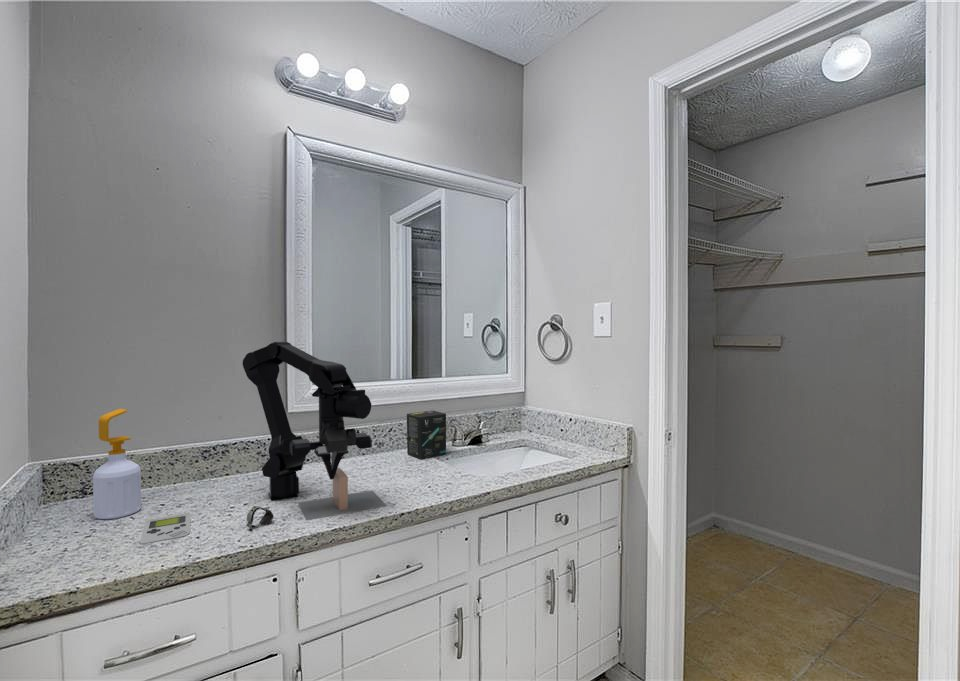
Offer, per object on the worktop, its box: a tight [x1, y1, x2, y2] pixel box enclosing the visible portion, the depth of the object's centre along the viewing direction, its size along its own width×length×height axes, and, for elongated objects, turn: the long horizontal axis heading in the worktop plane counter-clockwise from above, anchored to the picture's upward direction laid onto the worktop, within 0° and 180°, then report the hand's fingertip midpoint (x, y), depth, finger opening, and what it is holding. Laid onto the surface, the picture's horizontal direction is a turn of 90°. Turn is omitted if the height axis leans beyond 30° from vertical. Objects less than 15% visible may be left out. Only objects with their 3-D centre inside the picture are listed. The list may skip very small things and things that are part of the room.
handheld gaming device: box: [139, 512, 191, 545], centre depth 108 cm, size 9×1×15 cm
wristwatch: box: [246, 505, 275, 530], centre depth 108 cm, size 3×5×5 cm
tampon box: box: [406, 409, 447, 460], centre depth 171 cm, size 11×9×15 cm
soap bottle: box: [92, 408, 142, 520], centre depth 116 cm, size 9×9×25 cm
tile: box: [332, 467, 349, 510], centre depth 121 cm, size 2×8×8 cm, turn 29°
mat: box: [297, 490, 388, 521], centre depth 121 cm, size 19×13×1 cm
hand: (331, 478), depth 120 cm, fingers closed
